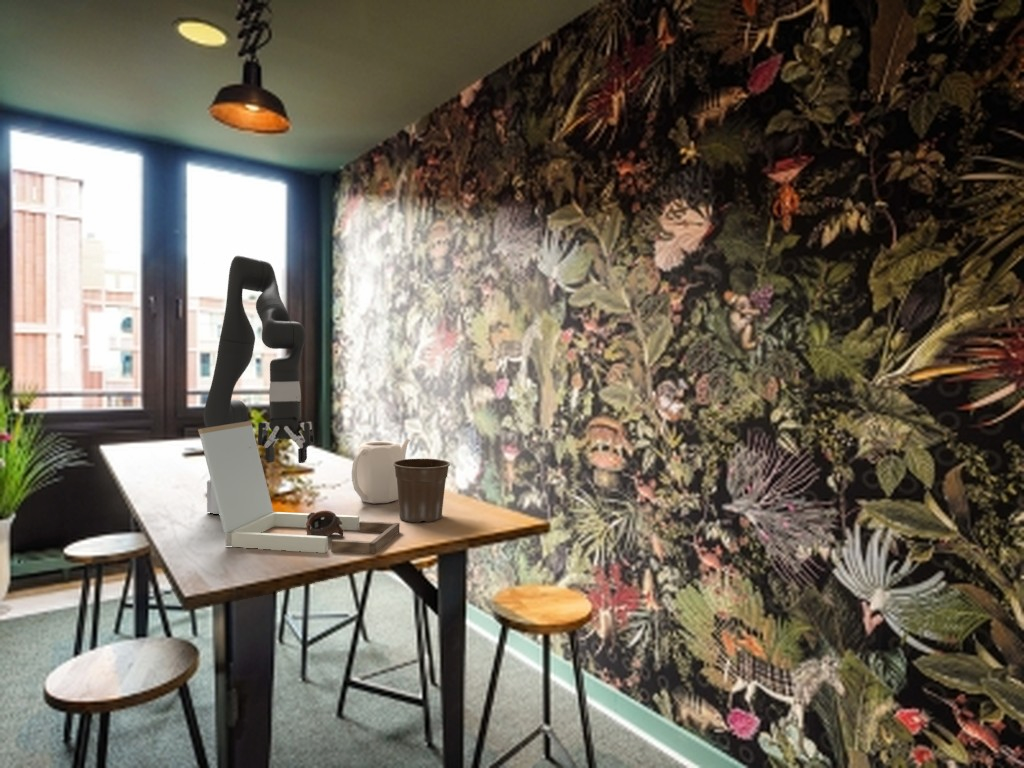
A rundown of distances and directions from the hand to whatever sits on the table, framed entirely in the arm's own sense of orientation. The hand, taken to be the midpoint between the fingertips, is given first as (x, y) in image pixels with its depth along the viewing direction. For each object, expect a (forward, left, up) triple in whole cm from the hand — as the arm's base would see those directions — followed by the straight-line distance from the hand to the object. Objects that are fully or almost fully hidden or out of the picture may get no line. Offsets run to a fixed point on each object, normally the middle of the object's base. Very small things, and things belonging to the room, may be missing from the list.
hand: (286, 462), depth 154 cm
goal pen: (+22, -1, -19) cm, 29 cm away
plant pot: (+29, +24, -19) cm, 42 cm away
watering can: (+10, +44, -19) cm, 49 cm away
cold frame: (0, -1, -19) cm, 19 cm away
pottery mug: (+10, -1, -19) cm, 22 cm away
